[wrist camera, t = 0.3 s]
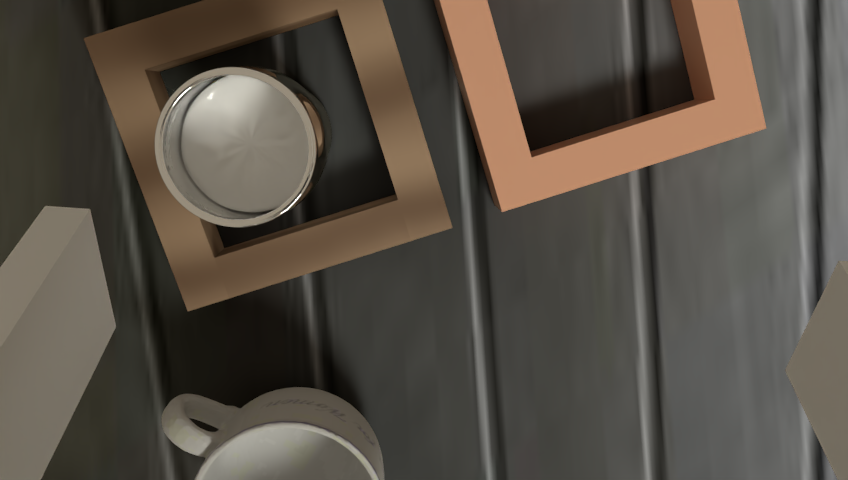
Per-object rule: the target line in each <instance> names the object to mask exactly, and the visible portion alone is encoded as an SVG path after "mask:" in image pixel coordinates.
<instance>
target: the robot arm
mask: <svg viewBox="0 0 848 480" xmlns="http://www.w3.org/2000/svg"><path fill="white" fill-rule="evenodd" d="M115 328H116V324H115V320H114V315H113V311H112V306H111V302H110V297H109V293H108V288H107V284H106V279H105V274H104V270H103V265H102V261H101V256H100V252H99V247H98V243H97V238H96V234H95V229H94V225H93V220H92V216H91V211H90V209H83V208H69V207H54V206H45V207H44V208H43V210H42V211H41V212H40V214H39V215H38V216H37V218H36V219H35V220H34V222H33V223H32V225H31V226H30V227H29V229H28V230H27V231H26V233H25V234H24V236H23V237H22V238H21V240H20V241H19V242H18V244H17V245H16V246H15V248H14V249H13V251H12V252H11V253H10V255H9V256H8V257H7V259H6V260H5V262H4V263H3V264H2V266H1V267H0V480H41V478H42V476H43V474H44V472H45V470H46V468H47V466H48V464H49V462H50V460H51V458H52V456H53V454H54V452H55V450H56V448H57V446H58V444H59V442H60V440H61V438H62V436H63V433H64V431H65V429H66V427H67V425H68V423H69V421H70V419H71V417H72V415H73V413H74V411H75V409H76V407H77V405H78V403H79V401H80V399H81V397H82V395H83V393H84V391H85V389H86V387H87V385H88V383H89V381H90V379H91V377H92V375H93V372H94V370H95V368H96V366H97V364H98V362H99V360H100V358H101V356H102V354H103V352H104V350H105V348H106V346H107V344H108V342H109V340H110V338H111V336H112V334H113V332H114V330H115ZM785 371H786V374H787V376H788V378H789V380H790V382H791V384H792V386H793V388H794V390H795V392H796V394H797V396H798V398H799V400H800V403H801V405H802V407H803V409H804V411H805V413H806V415H807V417H808V419H809V421H810V423H811V425H812V427H813V429H814V432H815V434H816V436H817V438H818V440H819V442H820V444H821V446H822V448H823V450H824V452H825V454H826V456H827V458H828V461H829V463H830V465H831V467H832V469H833V471H834V473H835V475H836V477H837V479H838V480H848V261H838V264H837V266H836V268H835V270H834V272H833V274H832V276H831V278H830V280H829V282H828V284H827V286H826V288H825V290H824V292H823V294H822V296H821V298H820V300H819V302H818V304H817V306H816V308H815V310H814V312H813V314H812V317H811V319H810V321H809V323H808V325H807V327H806V329H805V331H804V333H803V335H802V337H801V339H800V341H799V343H798V345H797V347H796V349H795V351H794V353H793V355H792V357H791V359H790V361H789V363H788V365H787V367H786V370H785Z"/></svg>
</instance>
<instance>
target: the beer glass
mask: <svg viewBox="0 0 848 480" xmlns="http://www.w3.org/2000/svg"><path fill="white" fill-rule="evenodd" d="M331 142H332V128H331V123H330V119H329V116H328V114H327V112H326V110H325V108H324V107H323V105H322V104H321V102H320V101H319V100H318V99H317V98H316V97H315V96H314V95H313V94H312V93H310V92H309V91H308V90H306V89H305V88H304V87H303V86H301V85H300V84H299V83H297V82H296V81H295V80H293V79H291V78H290V77H288V76H286V75H284V74H282V73H280V72H278V71H275V70H272V69H269V68H264V67H259V66H247V65H242V66H231V67H221V68H216V69H211V70H208V71H205V72H203V73H200V74H198V75H196V76H194V77H192V78H191V79H189V80H188V81H186V82H185V83H184V84H182V85H181V86H180V87H179V88H178V89H177V90H176V91H175V92H174V93H173V94H172V95H171V97H170V98H169V99H168V101H167V102H166V104H165V106H164V108H163V110H162V112H161V114H160V116H159V119H158V123H157V126H156V132H155V157H156V162H157V166H158V169H159V172H160V175H161V177H162V179H163V181H164V183H165V185H166V187H167V188H168V190H169V191H170V193H171V194H172V195H173V196H174V198H175V199H176V200H177V201H178V202H179V203H180V204H181V205H182V206H183V207H184V208H186V209H187V210H188V211H190V212H191V213H192V214H194V215H196V216H197V217H199V218H201V219H203V220H205V221H208V222H210V223H213V224H217V225H221V226H226V227H251V226H256V225H260V224H264V223H266V222H269V221H271V220H273V219H275V218H277V217H279V216H281V215H282V214H284V213H286V212H288V211H290V210H291V209H293V208H294V207H295V206H297V205H298V204H299V203H300V202H302V201H303V200H304V199H305V198H306V197H307V196H308V195H309V194H310V193H311V191H312V190H313V189H314V187H315V186H316V184H317V183H318V181H319V179H320V177H321V175H322V173H323V170H324V168H325V165H326V162H327V157H328V153H329V151H330V147H331Z"/></svg>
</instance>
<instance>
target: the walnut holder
mask: <svg viewBox="0 0 848 480" xmlns="http://www.w3.org/2000/svg"><path fill="white" fill-rule="evenodd" d="M337 15H339V16H340V20H341V23H342V26H343V29H344V32H345V35H346V38H347V42H348V45H349V48H350V51H351V54H352V57H353V60H354V63H355V67H356V70H357V73H358V76H359V79H360V82H361V85H362V88H363V92H364V95H365V98H366V101H367V104H368V107H369V110H370V114H371V117H372V120H373V123H374V126H375V129H376V132H377V135H378V139H379V142H380V145H381V148H382V151H383V154H384V157H385V160H386V164H387V167H388V170H389V173H390V176H391V179H392V182H393V185H394V189H395V192H396V194H394V195H391V196H388V197H385V198H382V199H379V200H375V201H372V202H369V203H366V204H363V205H360V206H356V207H353V208H350V209H347V210H344V211H341V212H338V213H334V214H331V215H328V216H325V217H322V218H319V219H315V220H312V221H309V222H306V223H303V224H300V225H296V226H293V227H290V228H287V229H284V230H281V231H278V232H274V233H271V234H268V235H265V236H262V237H259V238H255V239H252V240H249V241H246V242H243V243H240V244H236V245H233V246H230V247H227V248H224V246H223V243H222V240H221V238H220V235H219V232H218V229H217V227H216V224H213V223H210V222H208V221H205V220H203V219H201V218H199V217H197V216H196V215H194V214H192V213H191V212H190V211H188V210H187V209H186V208H184V207H183V206H182V205H181V204H180V203H179V202H178V201H177V200H176V199H175V198H174V196H173V195H172V194H171V193H170V191H169V190H168V188H167V187H166V185H165V183H164V181H163V179H162V177H161V175H160V172H159V169H158V166H157V162H156V157H155V132H156V126H157V123H158V119H159V116H160V114H161V112H162V110H163V108H164V106H165V104H166V102H167V101H168V99H169V96H168V93H167V90H166V88H165V85H164V82H163V79H162V77H161V74H160V71H163V70H166V69H170V68H173V67H176V66H179V65H182V64H185V63H189V62H192V61H195V60H198V59H201V58H204V57H208V56H211V55H214V54H217V53H220V52H223V51H227V50H230V49H233V48H236V47H239V46H242V45H246V44H249V43H252V42H255V41H258V40H261V39H265V38H268V37H271V36H274V35H277V34H280V33H284V32H287V31H290V30H293V29H296V28H299V27H303V26H306V25H309V24H312V23H315V22H318V21H322V20H325V19H328V18H331V17H334V16H337ZM84 41H85V43H86V46H87V49H88V51H89V54H90V56H91V59H92V62H93V64H94V67H95V70H96V72H97V75H98V77H99V80H100V83H101V85H102V88H103V91H104V93H105V96H106V98H107V101H108V104H109V106H110V109H111V112H112V114H113V117H114V119H115V122H116V125H117V127H118V130H119V132H120V135H121V138H122V140H123V143H124V146H125V148H126V151H127V153H128V156H129V159H130V161H131V164H132V167H133V169H134V172H135V174H136V177H137V180H138V182H139V185H140V188H141V190H142V193H143V195H144V198H145V201H146V203H147V206H148V208H149V211H150V214H151V216H152V219H153V222H154V224H155V227H156V229H157V232H158V235H159V237H160V240H161V243H162V245H163V248H164V250H165V253H166V256H167V258H168V261H169V264H170V266H171V269H172V271H173V274H174V277H175V279H176V282H177V284H178V287H179V290H180V292H181V295H182V298H183V300H184V303H185V305H186V308H187V311H191V310H194V309H197V308H201V307H204V306H207V305H210V304H213V303H216V302H220V301H223V300H226V299H229V298H232V297H235V296H238V295H242V294H245V293H248V292H251V291H254V290H257V289H261V288H264V287H267V286H270V285H273V284H276V283H280V282H283V281H286V280H289V279H292V278H295V277H298V276H302V275H305V274H308V273H311V272H314V271H317V270H321V269H324V268H327V267H330V266H333V265H336V264H340V263H343V262H346V261H349V260H352V259H355V258H358V257H362V256H365V255H368V254H371V253H374V252H377V251H381V250H384V249H387V248H390V247H393V246H396V245H400V244H403V243H406V242H409V241H412V240H415V239H418V238H422V237H425V236H428V235H431V234H434V233H437V232H441V231H444V230H447V229H450V228H452V224H451V221H450V218H449V215H448V211H447V208H446V205H445V202H444V199H443V195H442V192H441V189H440V186H439V182H438V179H437V176H436V173H435V169H434V166H433V163H432V160H431V156H430V153H429V150H428V147H427V143H426V140H425V137H424V134H423V130H422V127H421V124H420V121H419V117H418V114H417V111H416V108H415V104H414V101H413V98H412V95H411V91H410V88H409V85H408V82H407V78H406V75H405V72H404V69H403V65H402V62H401V59H400V56H399V53H398V49H397V46H396V43H395V40H394V36H393V33H392V30H391V27H390V23H389V20H388V17H387V14H386V10H385V7H384V4H383V1H382V0H203V1H200V2H197V3H193V4H190V5H187V6H184V7H181V8H178V9H174V10H171V11H168V12H165V13H162V14H159V15H155V16H152V17H149V18H146V19H143V20H140V21H136V22H133V23H130V24H127V25H124V26H121V27H117V28H114V29H111V30H108V31H105V32H102V33H98V34H95V35H92V36H89V37H86V38H84Z"/></svg>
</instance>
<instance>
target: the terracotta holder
mask: <svg viewBox="0 0 848 480" xmlns="http://www.w3.org/2000/svg"><path fill="white" fill-rule="evenodd" d="M434 3H435V6H436V9H437V13H438V16H439V19H440V23H441V26H442V30H443V33H444V36H445V40H446V43H447V47H448V50H449V53H450V57H451V60H452V63H453V67H454V70H455V74H456V77H457V80H458V84H459V87H460V90H461V94H462V97H463V101H464V104H465V107H466V111H467V114H468V117H469V121H470V124H471V128H472V131H473V134H474V138H475V141H476V144H477V148H478V151H479V155H480V158H481V161H482V165H483V168H484V171H485V175H486V178H487V182H488V185H489V188H490V192H491V195H492V198H493V202H494V205H495V206H496V207H497V208H498V209H499V210H500V211H502V212H504V211H507V210H510V209H513V208H516V207H520V206H523V205H526V204H529V203H532V202H535V201H538V200H542V199H545V198H548V197H551V196H554V195H557V194H561V193H564V192H567V191H570V190H573V189H576V188H580V187H583V186H586V185H589V184H592V183H595V182H599V181H602V180H605V179H608V178H611V177H614V176H617V175H621V174H624V173H627V172H630V171H633V170H636V169H640V168H643V167H646V166H649V165H652V164H655V163H659V162H662V161H665V160H668V159H671V158H674V157H677V156H681V155H684V154H687V153H690V152H693V151H696V150H700V149H703V148H706V147H709V146H712V145H715V144H719V143H722V142H725V141H728V140H731V139H734V138H737V137H741V136H744V135H747V134H750V133H753V132H756V131H760V130H763V129H766V125H765V120H764V116H763V111H762V107H761V102H760V98H759V93H758V89H757V85H756V80H755V76H754V71H753V67H752V62H751V58H750V54H749V49H748V45H747V40H746V36H745V31H744V27H743V22H742V18H741V14H740V9H739V5H738V0H671V5H672V9H673V13H674V17H675V21H676V25H677V30H678V34H679V38H680V42H681V46H682V50H683V54H684V59H685V63H686V67H687V71H688V75H689V79H690V84H691V88H692V92H693V96H694V100H691V101H688V102H685V103H682V104H679V105H676V106H672V107H669V108H666V109H663V110H660V111H657V112H653V113H650V114H647V115H644V116H641V117H638V118H635V119H631V120H628V121H625V122H622V123H619V124H616V125H612V126H609V127H606V128H603V129H600V130H597V131H593V132H590V133H587V134H584V135H581V136H578V137H574V138H571V139H568V140H565V141H562V142H559V143H556V144H552V145H549V146H546V147H543V148H540V149H537V150H533V151H530V150H529V146H528V143H527V139H526V136H525V132H524V129H523V125H522V122H521V118H520V115H519V111H518V108H517V104H516V101H515V97H514V94H513V90H512V86H511V83H510V79H509V76H508V72H507V69H506V65H505V62H504V58H503V55H502V51H501V48H500V44H499V41H498V37H497V34H496V30H495V27H494V23H493V20H492V16H491V12H490V9H489V5H488V2H487V0H434Z"/></svg>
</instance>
